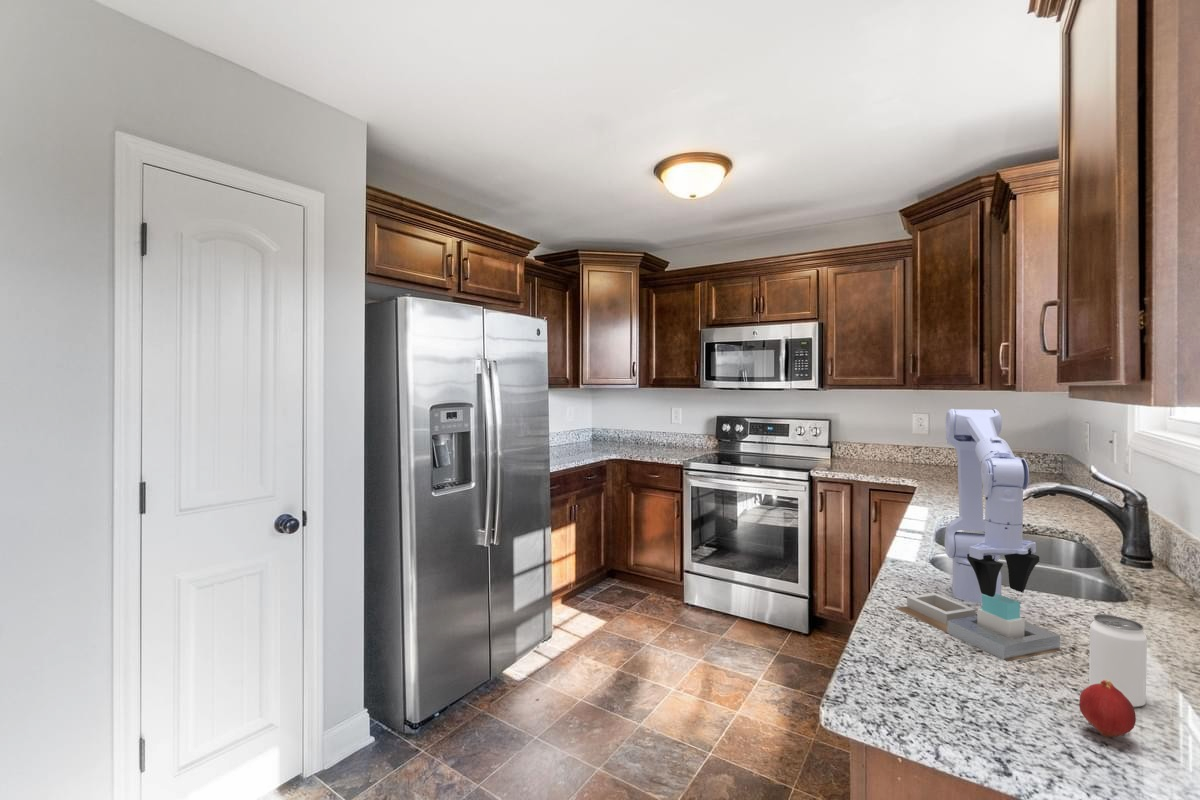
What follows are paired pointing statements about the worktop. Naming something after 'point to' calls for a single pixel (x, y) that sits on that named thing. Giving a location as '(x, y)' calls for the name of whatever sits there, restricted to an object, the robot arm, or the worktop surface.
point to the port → (1003, 638)
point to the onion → (1107, 709)
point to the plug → (1001, 616)
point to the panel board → (944, 628)
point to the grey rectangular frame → (953, 608)
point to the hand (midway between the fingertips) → (1002, 592)
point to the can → (1119, 656)
